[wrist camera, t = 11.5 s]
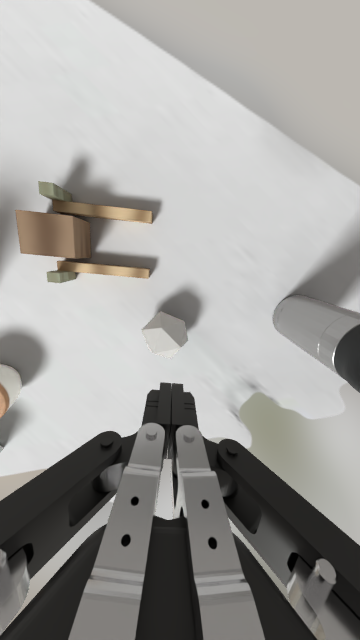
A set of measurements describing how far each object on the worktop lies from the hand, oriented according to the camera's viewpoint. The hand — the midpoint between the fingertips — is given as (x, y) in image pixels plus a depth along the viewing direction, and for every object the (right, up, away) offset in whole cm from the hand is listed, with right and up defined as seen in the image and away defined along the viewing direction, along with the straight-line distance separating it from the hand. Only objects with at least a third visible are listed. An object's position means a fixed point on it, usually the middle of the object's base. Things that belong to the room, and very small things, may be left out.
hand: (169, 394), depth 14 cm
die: (-2, +3, +30) cm, 31 cm away
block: (-20, +20, +24) cm, 37 cm away
